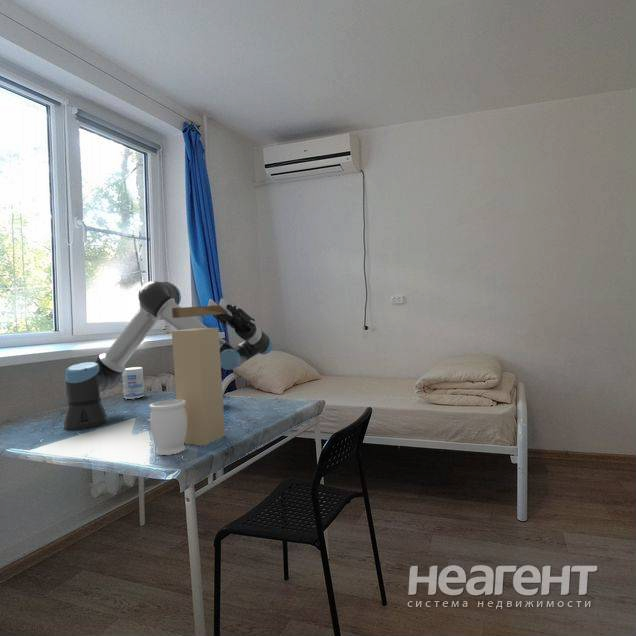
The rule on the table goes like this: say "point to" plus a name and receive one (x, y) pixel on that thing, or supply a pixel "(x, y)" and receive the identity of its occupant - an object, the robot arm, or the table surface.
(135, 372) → the supplement tub
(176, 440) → the jar
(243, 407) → the table surface
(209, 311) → the brown rectangular bar
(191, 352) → the carton
